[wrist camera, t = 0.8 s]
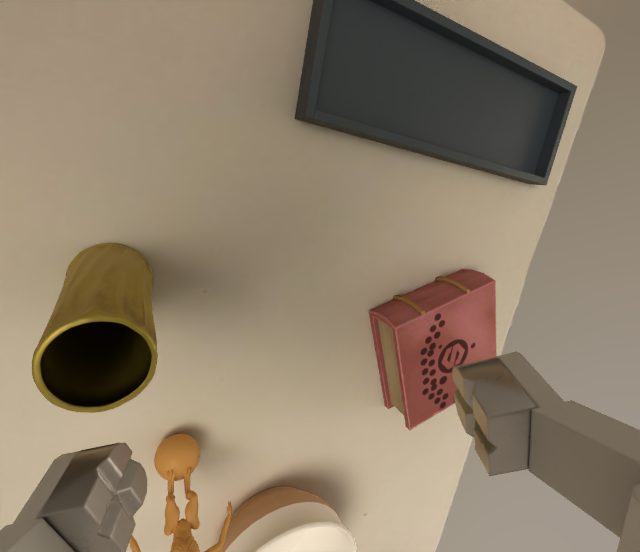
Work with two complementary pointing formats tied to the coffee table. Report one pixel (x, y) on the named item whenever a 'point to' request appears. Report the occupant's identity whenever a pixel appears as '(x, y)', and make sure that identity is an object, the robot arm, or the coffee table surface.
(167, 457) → the figurine
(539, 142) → the tray
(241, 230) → the coffee table surface
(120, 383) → the vase
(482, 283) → the book
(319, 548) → the bowl
